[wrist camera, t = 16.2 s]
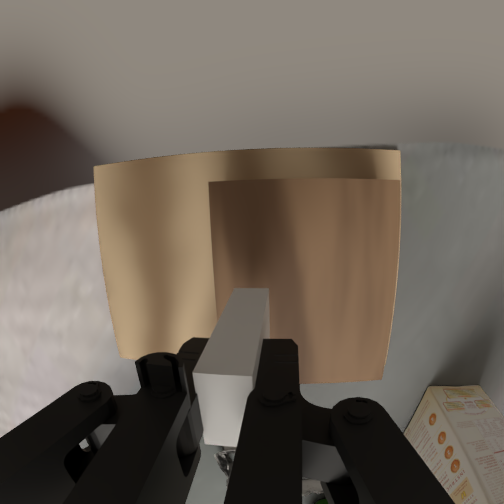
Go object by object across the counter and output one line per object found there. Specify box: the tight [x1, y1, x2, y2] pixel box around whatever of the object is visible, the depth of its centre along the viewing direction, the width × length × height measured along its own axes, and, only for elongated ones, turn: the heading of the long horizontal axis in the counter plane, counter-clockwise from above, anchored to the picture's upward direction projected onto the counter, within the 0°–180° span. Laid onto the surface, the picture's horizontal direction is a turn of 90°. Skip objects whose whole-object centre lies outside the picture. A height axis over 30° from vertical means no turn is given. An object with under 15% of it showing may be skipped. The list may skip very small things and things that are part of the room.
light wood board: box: [94, 148, 401, 364], centre depth 22 cm, size 22×16×1 cm
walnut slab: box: [208, 178, 400, 384], centre depth 19 cm, size 4×12×10 cm
